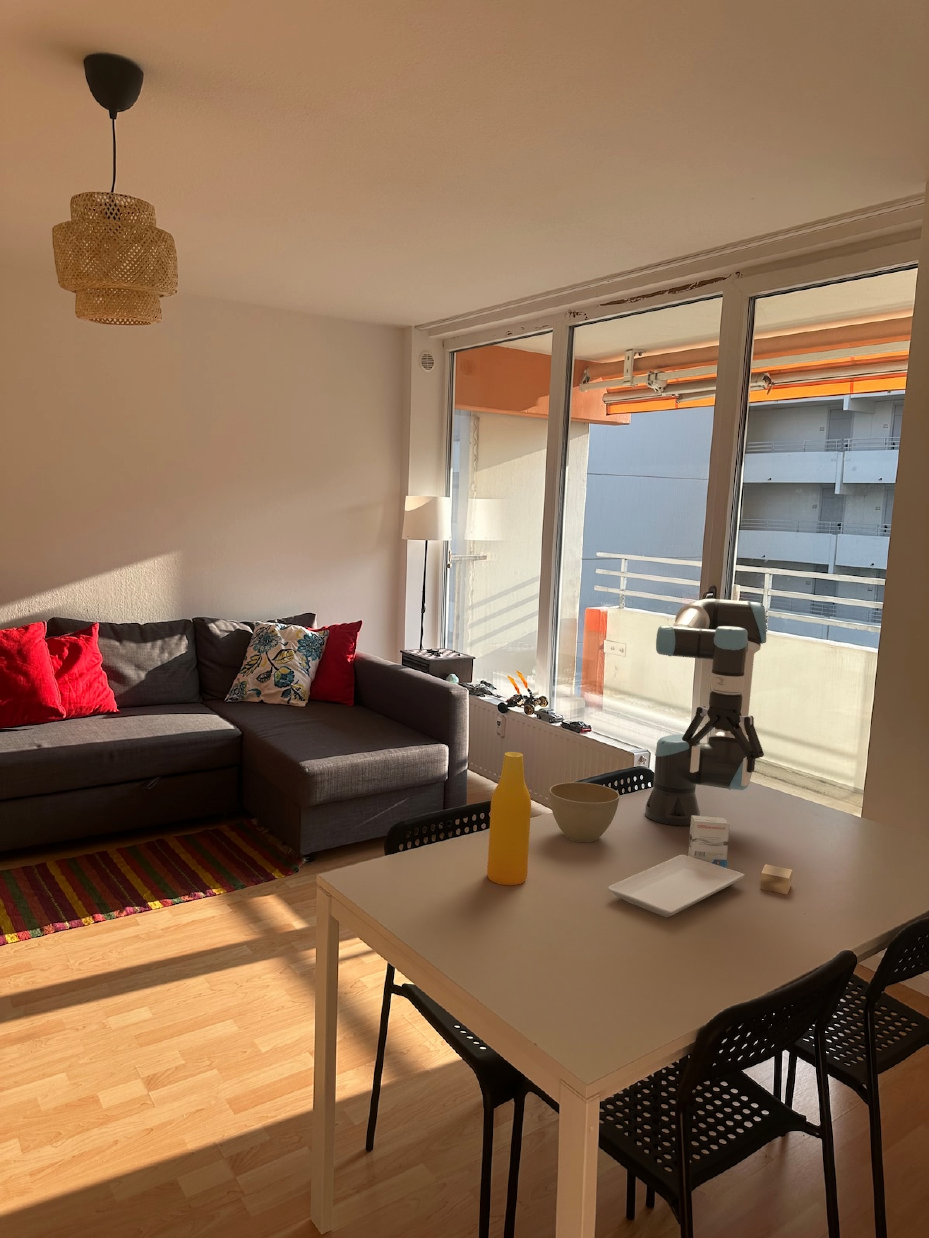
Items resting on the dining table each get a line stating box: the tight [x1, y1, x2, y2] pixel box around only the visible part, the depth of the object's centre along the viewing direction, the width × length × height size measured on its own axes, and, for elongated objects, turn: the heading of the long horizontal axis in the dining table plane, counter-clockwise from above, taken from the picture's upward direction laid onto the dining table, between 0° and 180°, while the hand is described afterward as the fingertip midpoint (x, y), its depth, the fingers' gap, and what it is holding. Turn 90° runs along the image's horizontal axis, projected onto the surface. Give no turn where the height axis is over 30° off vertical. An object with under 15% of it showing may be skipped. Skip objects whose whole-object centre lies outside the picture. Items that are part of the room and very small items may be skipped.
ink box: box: [687, 815, 730, 868], centre depth 216 cm, size 8×5×12 cm, turn 84°
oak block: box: [759, 863, 793, 895], centre depth 205 cm, size 6×6×4 cm
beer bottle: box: [486, 751, 532, 886], centre depth 202 cm, size 9×9×29 cm
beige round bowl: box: [548, 781, 620, 843], centre depth 232 cm, size 18×18×12 cm
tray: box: [607, 854, 745, 918], centre depth 199 cm, size 17×32×4 cm, turn 135°
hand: (719, 778), depth 214 cm, fingers open, 13 cm apart
